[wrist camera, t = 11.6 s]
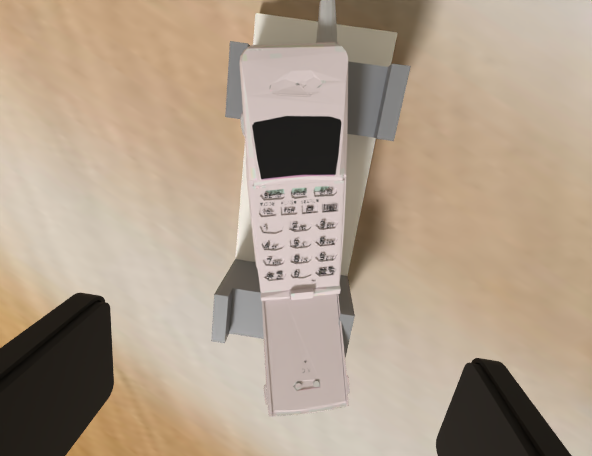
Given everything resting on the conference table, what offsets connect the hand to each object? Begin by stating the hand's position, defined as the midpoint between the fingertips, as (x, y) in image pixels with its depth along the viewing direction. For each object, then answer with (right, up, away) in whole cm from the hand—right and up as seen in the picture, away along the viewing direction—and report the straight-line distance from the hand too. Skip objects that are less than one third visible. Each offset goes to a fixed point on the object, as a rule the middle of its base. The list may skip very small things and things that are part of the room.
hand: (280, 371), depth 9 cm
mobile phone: (0, +4, +14) cm, 15 cm away
